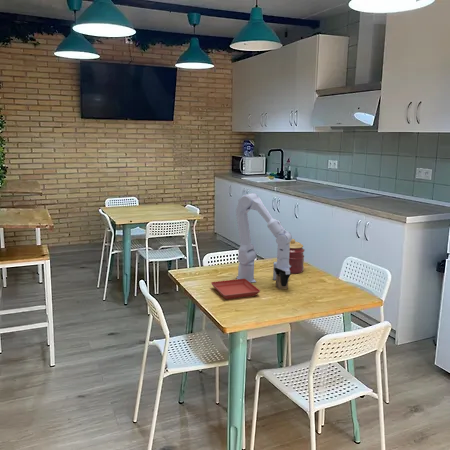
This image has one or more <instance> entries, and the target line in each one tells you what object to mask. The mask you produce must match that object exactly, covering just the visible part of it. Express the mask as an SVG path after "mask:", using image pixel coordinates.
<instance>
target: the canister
mask: <svg viewBox="0 0 450 450" xmlns="http://www.w3.org/2000/svg"><path fill="white" fill-rule="evenodd" d="M303 247H304V245H303V244H302V243H301V242H298V241H296V239H294V238H292V240H291V242H290V252H289V265H290V266H291V268H289V270H290V272H291V275H292V274H301V273H303V271H304V268H305V267H304V262H305V261H304V260H305V254H304V252H305V249H304V248H303Z"/></svg>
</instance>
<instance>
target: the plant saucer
mask: <svg viewBox="0 0 450 450" xmlns="http://www.w3.org/2000/svg"><path fill="white" fill-rule="evenodd" d="M210 284H211V285H212V286H213V288H214V289H215V290H216V291H217V292H218V293H219V295H221V296H222V297H223V298H224V299H225V300H231V299H232V300H234V299H240V298H249V297H255V296H257V295H258V294H259V293H260V292H261V290H260V289H259V288H258V287H257V286H255V285H254V284H253V283H250V282H249V281H247V280H246V279H237V278H236V279H229V280H228V279H227V280H219V281H218V280H217V281H212V282H210Z"/></svg>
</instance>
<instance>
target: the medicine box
mask: <svg viewBox="0 0 450 450" xmlns="http://www.w3.org/2000/svg"><path fill="white" fill-rule="evenodd" d="M276 262H277V261H273V268H272V269H273V272H272V273H273V274H272V275H273V276H272V280H273V281H276V272H275V270H274V268H276ZM289 279H290V278H289ZM289 279H288V281H290V280H289Z"/></svg>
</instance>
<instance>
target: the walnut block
mask: <svg viewBox="0 0 450 450" xmlns="http://www.w3.org/2000/svg"><path fill="white" fill-rule="evenodd" d="M275 287H276V288H277V289H278V290H287V289H289V280H288V281H287V285H286V286H282V285H281V278H280V274H276V280H275Z"/></svg>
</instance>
